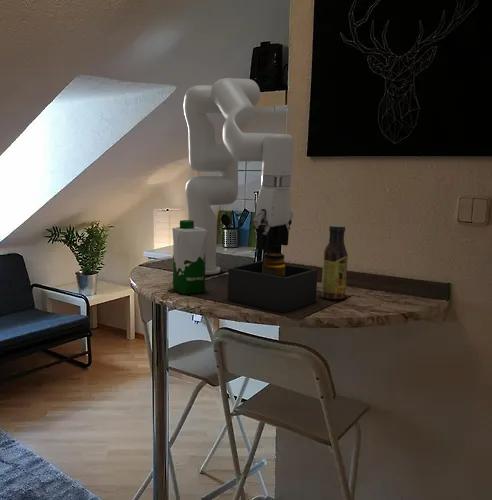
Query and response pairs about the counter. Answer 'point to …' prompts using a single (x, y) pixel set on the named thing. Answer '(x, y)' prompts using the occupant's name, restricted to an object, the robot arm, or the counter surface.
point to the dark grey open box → (272, 287)
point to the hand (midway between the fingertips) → (272, 247)
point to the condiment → (274, 264)
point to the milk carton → (189, 258)
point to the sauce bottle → (335, 265)
